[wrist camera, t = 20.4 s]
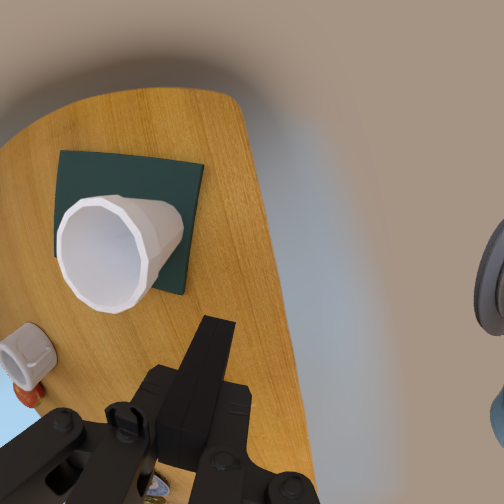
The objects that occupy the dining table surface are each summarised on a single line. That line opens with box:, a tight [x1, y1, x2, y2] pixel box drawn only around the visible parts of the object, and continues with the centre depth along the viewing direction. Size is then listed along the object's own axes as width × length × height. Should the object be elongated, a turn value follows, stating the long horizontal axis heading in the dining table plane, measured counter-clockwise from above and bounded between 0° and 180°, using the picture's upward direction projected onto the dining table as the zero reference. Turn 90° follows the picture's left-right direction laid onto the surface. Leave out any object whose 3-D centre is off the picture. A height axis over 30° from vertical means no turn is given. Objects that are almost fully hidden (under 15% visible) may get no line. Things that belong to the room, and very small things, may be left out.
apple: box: [13, 382, 44, 408], centre depth 41 cm, size 8×8×8 cm
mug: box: [0, 323, 57, 391], centre depth 36 cm, size 14×11×10 cm
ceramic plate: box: [147, 475, 170, 496], centre depth 50 cm, size 26×26×3 cm
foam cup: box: [57, 195, 184, 314], centre depth 25 cm, size 10×9×13 cm
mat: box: [54, 150, 204, 295], centre depth 32 cm, size 22×16×1 cm
